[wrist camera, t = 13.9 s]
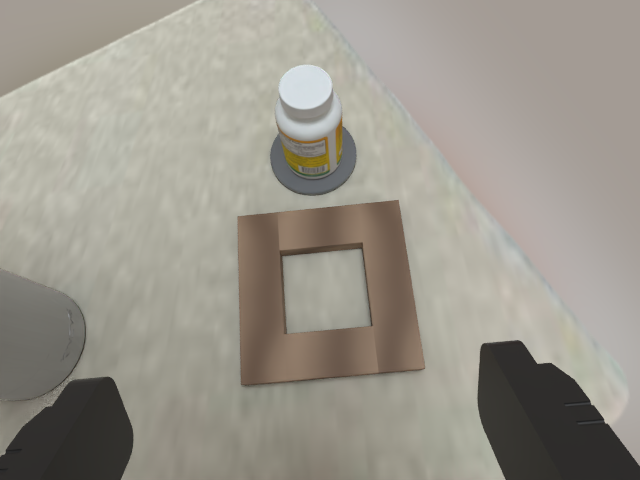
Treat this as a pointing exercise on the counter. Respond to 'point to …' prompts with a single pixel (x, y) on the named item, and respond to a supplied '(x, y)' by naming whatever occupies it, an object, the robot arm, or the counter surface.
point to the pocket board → (330, 345)
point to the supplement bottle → (309, 122)
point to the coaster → (314, 185)
